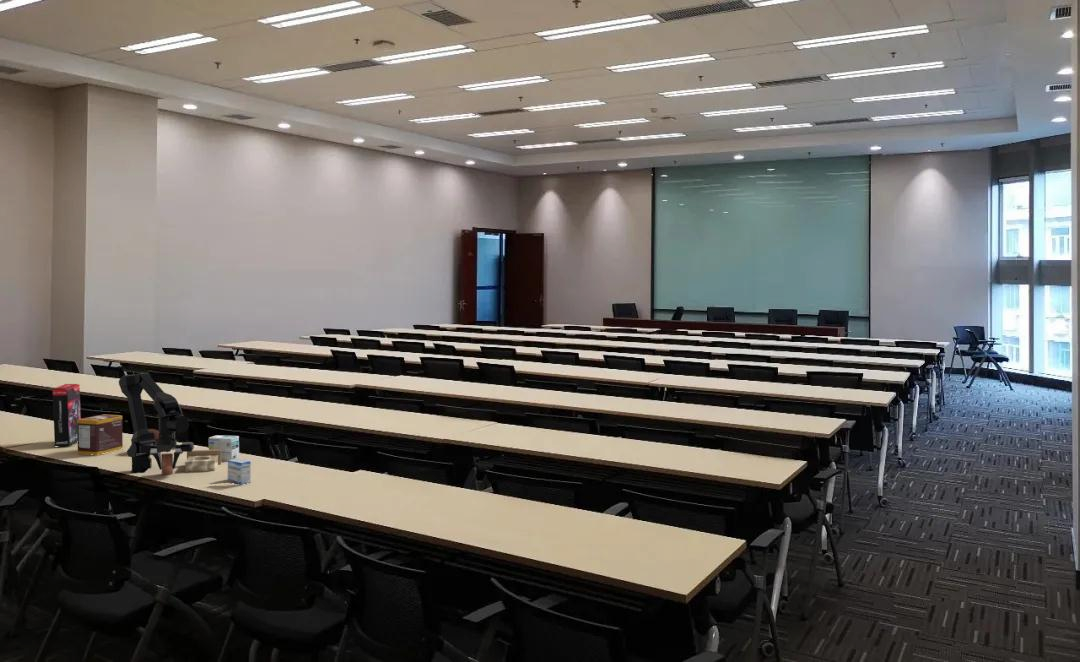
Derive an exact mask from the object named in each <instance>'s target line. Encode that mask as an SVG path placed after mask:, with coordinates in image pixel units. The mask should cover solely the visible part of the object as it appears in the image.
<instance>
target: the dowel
mask: <svg viewBox="0 0 1080 662" xmlns="http://www.w3.org/2000/svg"><path fill="white" fill-rule="evenodd" d="M173 459H174V453H171V452H164V453H161V463H162V468H161V476H171V475H173V474H174V469H173Z"/></svg>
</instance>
